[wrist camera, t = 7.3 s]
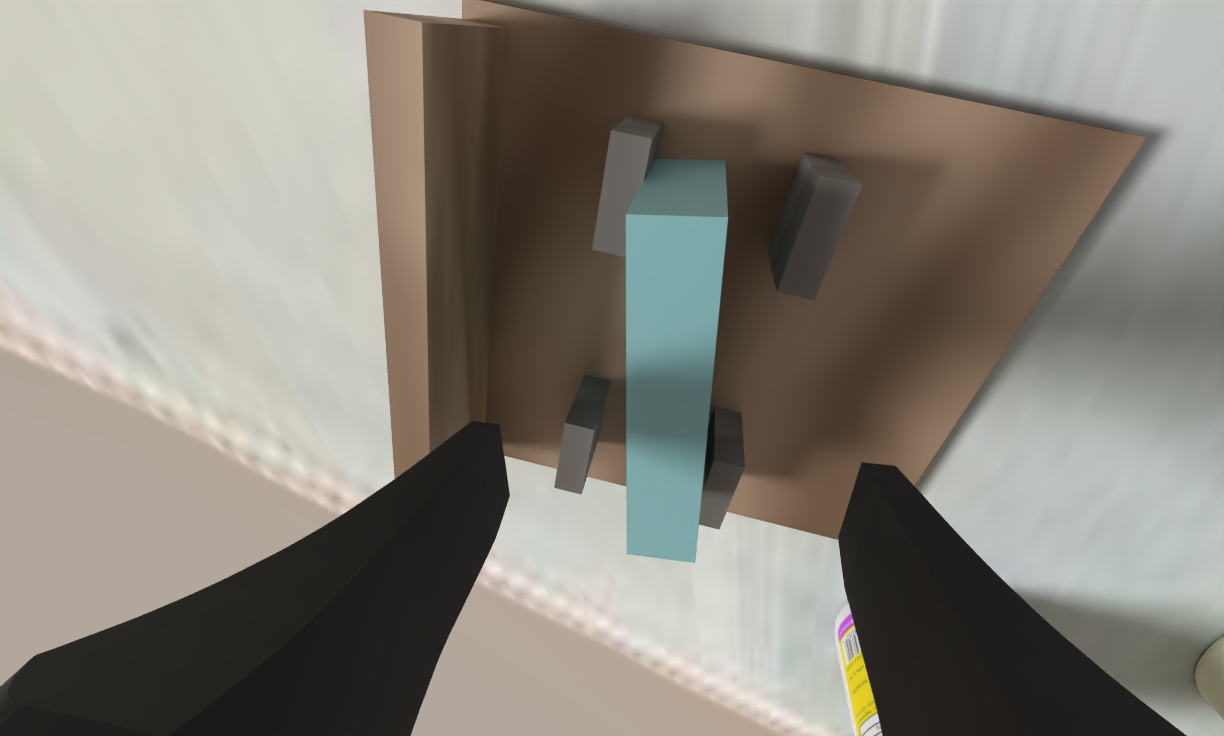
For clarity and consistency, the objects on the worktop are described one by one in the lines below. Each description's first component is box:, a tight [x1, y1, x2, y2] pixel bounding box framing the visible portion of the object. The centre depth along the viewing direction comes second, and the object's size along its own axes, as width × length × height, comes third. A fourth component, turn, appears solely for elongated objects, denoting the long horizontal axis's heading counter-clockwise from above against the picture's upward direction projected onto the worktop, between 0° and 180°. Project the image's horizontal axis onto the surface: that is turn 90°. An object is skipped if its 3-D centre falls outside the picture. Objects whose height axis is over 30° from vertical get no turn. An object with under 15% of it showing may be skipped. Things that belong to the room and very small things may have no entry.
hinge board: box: [364, 0, 1146, 540], centre depth 17 cm, size 18×16×6 cm
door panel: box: [626, 159, 728, 563], centre depth 16 cm, size 2×10×6 cm, turn 1°
